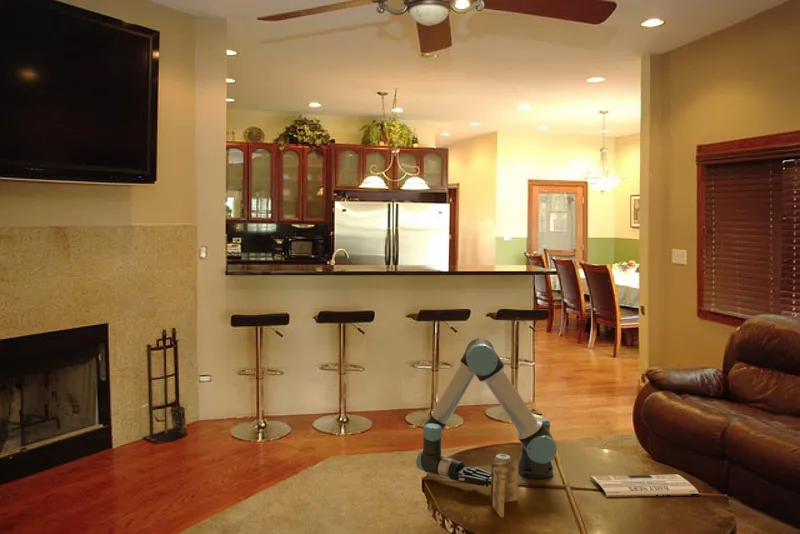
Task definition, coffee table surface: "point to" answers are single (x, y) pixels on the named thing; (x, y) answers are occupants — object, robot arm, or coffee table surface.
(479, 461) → the coffee table surface
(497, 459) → the beverage can
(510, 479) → the fence panel
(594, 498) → the coffee table surface
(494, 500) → the panel
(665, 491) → the newspaper
